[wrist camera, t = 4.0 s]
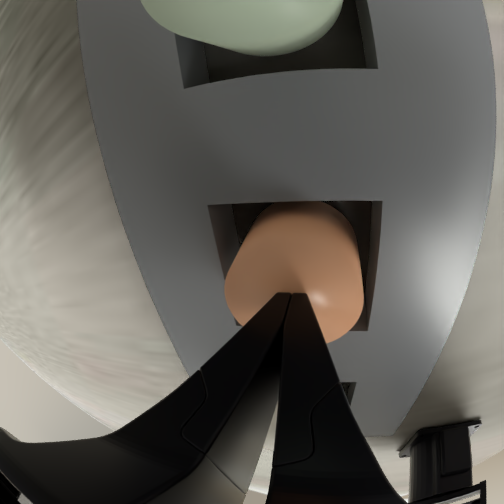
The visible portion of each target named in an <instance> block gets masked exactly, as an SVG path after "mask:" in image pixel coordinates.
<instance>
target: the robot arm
mask: <svg viewBox="0 0 504 504" xmlns="http://www.w3.org/2000/svg"><path fill="white" fill-rule="evenodd" d="M277 401H278V409H277V420H276V431H275V442H274V452H273V461H272V467H273V468H272V471H271V478H270V485H269V491H268V495H267V499H266V503H265V504H449V503H453V502H456V501H459V500H463V499H466V498H469V497H472V496H475V495H477V494H480V498H478V499H475V500H473V501H470V502H466V503H463V504H486V480H485V481H482V482H480V483H479V484H476V485H474V486H472V454H471V444H470V436H471V435H472V434H473V433H474V432H475V431H476V430H477V429H478V428H479V427H480V426H481V425H482V423H481V420H478V421H473V422H468V423H463V424H457V425H452V426H445V427H439V428H431V429H424V430H420V431H418V432H417V433H416V434H415V435H414V436H413V438H412V439H411V440H410V441H409V442H408V443H407V445H406V446H405V447H404V448H403V449H402V450H401V451H400V453H399V457H400V458H403V457H410V482H409V500H408V503H407V502H406V501H405V500H404V499H403V498H402V497H401V496H400V495H399V494H398V493H397V492H396V491H395V490H394V488H393V487H392V485H391V484H390V483H389V481H388V479H387V478H386V476H385V474H384V473H383V471H382V469H381V467H380V465H379V463H378V461H377V460H376V458H375V456H374V454H373V452H372V450H371V448H370V446H369V444H368V443H367V441H366V439H365V437H364V435H363V433H362V431H361V429H360V427H359V425H358V423H357V421H356V419H355V417H354V415H353V413H352V410H351V408H350V405H349V403H348V400H347V398H346V395H345V392H344V389H343V387H342V384H340V379H339V376H338V373H337V371H336V368H335V365H334V362H333V360H332V357H331V354H330V352H329V349H328V346H327V344H326V341H325V338H324V336H323V333H322V331H321V328H320V325H319V323H318V320H317V318H316V315H315V312H314V310H313V307H312V305H311V302H310V300H309V297H308V295H307V294H306V293H293V294H291V293H290V292H277V293H276V294H275V295H274V296H273V297H272V298H271V299H270V300H269V301H268V302H267V303H266V304H265V305H264V306H263V307H262V308H261V309H260V310H259V311H258V312H257V313H256V314H255V315H254V316H253V317H252V318H251V319H250V320H249V321H248V322H247V323H246V324H245V325H244V326H243V327H242V328H241V329H240V330H239V331H238V332H237V333H236V334H235V335H234V336H233V337H232V338H231V339H230V340H228V341H227V342H226V343H225V344H224V345H223V346H222V347H221V348H220V349H219V350H218V351H217V352H216V353H215V354H214V355H213V356H212V357H211V358H210V359H209V360H208V361H207V362H205V363H204V364H203V365H202V366H201V367H200V370H197V371H196V372H195V373H194V374H192V375H191V376H190V377H189V378H188V379H187V380H186V381H185V382H184V383H182V384H181V385H180V386H179V387H178V388H177V389H175V390H174V391H173V392H172V393H170V394H169V395H168V396H166V397H165V398H164V399H162V400H161V401H160V402H158V403H157V404H156V405H154V406H153V407H151V408H150V409H148V410H147V411H146V412H144V413H143V414H141V415H140V416H138V417H137V418H135V419H134V420H132V421H131V422H129V423H128V424H126V425H125V426H123V427H122V428H120V429H118V430H117V431H115V432H113V433H110V434H108V435H105V436H101V437H97V438H90V439H81V440H72V441H60V442H45V443H25V442H21V441H19V440H18V439H17V438H16V437H14V436H13V435H12V434H10V433H9V432H8V431H6V430H5V429H3V428H1V427H0V504H243V501H244V499H245V496H246V495H245V494H246V493H247V491H248V488H249V485H250V483H251V480H252V477H253V474H254V471H255V469H256V466H257V463H258V460H259V457H260V454H261V451H262V448H263V445H264V442H265V439H266V436H267V433H268V430H269V427H270V424H271V421H272V418H273V414H274V411H275V408H276V405H277Z"/></svg>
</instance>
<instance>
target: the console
mask: <svg viewBox="0 0 504 504" xmlns="http://www.w3.org/2000/svg"><path fill="white" fill-rule="evenodd" d="M355 2H356V7H357V12H358V17H359V23H360V28H361V34H362V40H363V47H364V54H365V62H366V69H313V70H298V71H286V72H276V73H268V74H260V75H253V76H246V77H240V78H234V79H228V80H222V81H217V82H212V83H210V80H209V74H208V68H207V62H206V56H205V50H204V44H203V42H202V41H198V40H194V39H191V38H187V37H184V36H180V35H178V34H176V33H174V32H171V31H169V30H168V29H166V28H164V27H163V26H161V25H160V24H159V23H157V22H156V21H155V20H154V19H153V18H152V17H151V16H150V15H149V14H148V12H147V11H146V10H145V8H144V6H143V5H142V3H141V0H77V15H78V27H79V37H80V46H81V54H82V61H83V68H84V74H85V80H86V86H87V91H88V97H89V102H90V107H91V111H92V116H93V121H94V125H95V129H96V134H97V138H98V142H99V146H100V150H101V154H102V157H103V161H104V165H105V168H106V172H107V175H108V179H109V182H110V186H111V189H112V192H113V195H114V199H115V202H116V205H117V208H118V211H119V214H120V217H121V220H122V223H123V226H124V229H125V232H126V234H127V237H128V240H129V243H130V245H131V248H132V251H133V253H134V256H135V259H136V261H137V264H138V266H139V269H140V271H141V274H142V276H143V279H144V281H145V284H146V286H147V288H148V291H149V293H150V296H151V298H152V300H153V302H154V305H155V307H156V309H157V312H158V314H159V316H160V318H161V320H162V323H163V325H164V327H165V329H166V331H167V333H168V335H169V337H170V339H171V342H172V344H173V346H174V348H175V350H176V352H177V354H178V356H179V358H180V360H181V362H182V363H183V365H184V367H185V369H186V371H187V373H188V375H189V377H190V376H191V375H192V374H194V373H195V372H196V371H197V370H200V367H201V366H202V365H203V364H204V363H205V362H207V361H208V360H209V359H210V358H211V357H212V356H213V355H214V354H215V353H216V352H217V351H218V350H219V349H220V348H221V347H222V346H223V345H224V344H225V343H226V342H227V341H228V340H230V339H231V338H232V337H233V336H234V335H235V334H236V333H237V332H238V331H239V330H240V329H241V328H242V327H243V326H242V325H241V324H240V323H239V322H238V321H237V320H236V319H235V317H234V316H233V314H232V313H231V311H230V309H229V307H228V305H227V302H226V299H225V293H224V285H225V279H226V276H227V273H228V271H229V269H230V267H231V265H232V263H233V261H234V259H235V257H236V255H237V253H238V251H239V249H240V246H239V241H238V235H237V230H236V225H235V220H234V214H233V209H232V204H237V203H259V202H289V201H372V214H371V234H370V248H369V261H368V271H367V281H366V290H365V296H364V304H363V308H362V312H361V314H360V317H359V319H358V320H357V322H356V323H355V325H354V326H353V327H352V328H351V329H350V330H349V331H348V332H347V333H346V334H344V335H343V336H341V337H340V338H338V339H336V340H334V341H332V342H329V343H327V346H328V349H329V352H330V354H331V357H332V360H333V362H334V365H335V368H336V371H337V373H338V376H339V379H340V382H350V385H349V390H348V394H347V400H348V403H349V405H350V408H351V410H352V413H353V415H354V417H355V419H356V421H357V423H358V425H359V427H360V429H361V431H362V433H363V435H364V437H372V436H393V435H394V433H395V432H396V430H397V429H398V427H399V426H400V424H401V423H402V421H403V420H404V418H405V417H406V415H407V414H408V412H409V410H410V409H411V407H412V405H413V404H414V402H415V400H416V399H417V397H418V395H419V394H420V392H421V390H422V388H423V387H424V385H425V383H426V381H427V379H428V377H429V375H430V374H431V372H432V370H433V368H434V366H435V364H436V362H437V360H438V358H439V356H440V354H441V351H442V349H443V347H444V345H445V343H446V341H447V338H448V336H449V334H450V331H451V329H452V327H453V324H454V322H455V319H456V317H457V314H458V312H459V309H460V306H461V304H462V301H463V298H464V295H465V293H466V290H467V287H468V284H469V281H470V277H471V274H472V271H473V268H474V264H475V261H476V257H477V253H478V250H479V246H480V242H481V238H482V233H483V229H484V224H485V219H486V214H487V209H488V203H489V197H490V191H491V184H492V176H493V167H494V157H495V142H496V87H495V73H494V63H493V55H492V47H491V41H490V35H489V29H488V24H487V19H486V15H485V11H484V6H483V2H482V0H355Z"/></svg>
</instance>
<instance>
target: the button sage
mask: <svg viewBox="0 0 504 504" xmlns="http://www.w3.org/2000/svg"><path fill="white" fill-rule="evenodd" d="M141 3H142V5H143V6H144V8H145V10H146V11H147V12H148V14H149V15H150V16H151V17H152V18H153V19H154V20H155V21H156V22H157V23H159V24H160V25H161V26H163V27H164V28H166V29H168V30H169V31H171V32H174V33H176V34H178V35H180V36H184V37H187V38H191V39H194V40H198V41H202V42H205V43H209V44H212V45H216V46H219V47H222V48H225V49H229V50H232V51H235V52H238V53H242V54H246V55H253V56H277V55H283V54H288V53H292V52H295V51H298V50H300V49H303V48H305V47H307V46H309V45H311V44H313V43H315V42H316V41H317V40H319V39H320V38H322V37H323V36H324V35H325V34H326V33H327V32H328V31H329V30H330V29H331V27H332V26H333V25H334V23H335V22H336V20H337V18H338V16H339V14H340V11H341V8H342V3H343V0H141Z"/></svg>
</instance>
